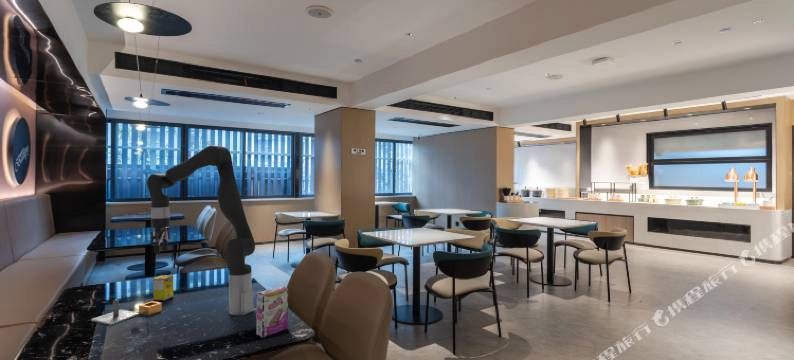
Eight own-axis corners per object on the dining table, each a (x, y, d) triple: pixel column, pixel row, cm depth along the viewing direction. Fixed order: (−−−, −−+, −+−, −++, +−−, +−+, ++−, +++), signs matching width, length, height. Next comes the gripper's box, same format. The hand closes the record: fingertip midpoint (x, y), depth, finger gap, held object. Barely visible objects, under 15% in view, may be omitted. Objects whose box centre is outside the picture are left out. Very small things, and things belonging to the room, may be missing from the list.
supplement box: (173, 297, 189) (173, 275, 188) (165, 301, 183) (164, 278, 182) (162, 297, 189) (162, 274, 189) (153, 301, 183) (153, 278, 183)
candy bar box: (263, 338, 144) (262, 294, 143) (255, 335, 147) (255, 292, 146) (288, 329, 152) (288, 287, 152) (281, 326, 155) (281, 285, 155)
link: (161, 310, 171) (161, 302, 171) (148, 315, 165) (148, 307, 165) (152, 308, 173) (152, 301, 173) (139, 313, 168) (138, 305, 167)
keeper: (139, 314, 166) (139, 296, 166) (110, 325, 155) (110, 306, 155) (121, 311, 170) (120, 293, 170) (91, 321, 159) (90, 302, 159)
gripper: (162, 218, 173) (163, 254, 173) (175, 215, 187) (175, 248, 187) (144, 218, 172) (144, 255, 172) (158, 215, 186) (159, 248, 186)
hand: (161, 251), depth 180 cm, fingers open, 8 cm apart
